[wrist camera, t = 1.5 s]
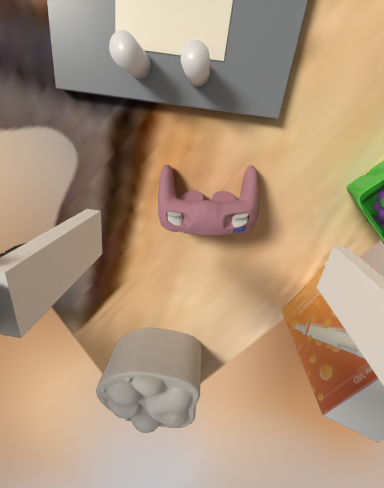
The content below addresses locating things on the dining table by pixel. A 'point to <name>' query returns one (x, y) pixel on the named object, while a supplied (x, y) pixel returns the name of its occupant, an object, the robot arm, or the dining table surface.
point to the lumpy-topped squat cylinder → (153, 379)
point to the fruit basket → (371, 197)
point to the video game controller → (208, 207)
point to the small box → (335, 364)
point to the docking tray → (178, 51)
